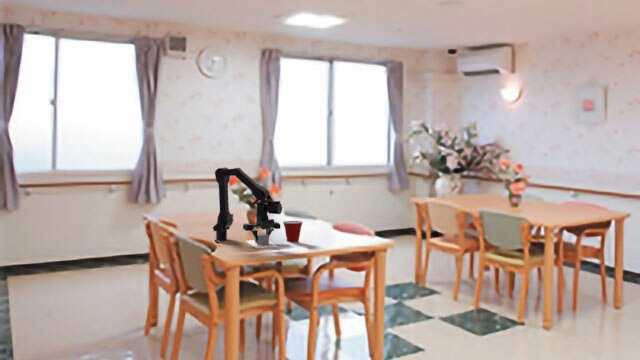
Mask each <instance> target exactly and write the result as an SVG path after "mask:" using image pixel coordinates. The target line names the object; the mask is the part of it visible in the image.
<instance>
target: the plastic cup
mask: <svg viewBox="0 0 640 360" xmlns="http://www.w3.org/2000/svg"><path fill="white" fill-rule="evenodd" d="M282 223H283V226H284V231H285V237H286V242H289V243H298V242H299V240H300V236H301V230H302V224H303V223H304V222H303V221H302V220H286V221H282Z"/></svg>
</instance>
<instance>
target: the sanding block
mask: <svg viewBox="0 0 640 360" xmlns="http://www.w3.org/2000/svg"><path fill="white" fill-rule="evenodd" d="M257 238H258V242H257V244H259V245H264V244H269V241H270V236H269V235H267V234H266V232H259V233H258V232H257ZM255 242H256V241H255Z"/></svg>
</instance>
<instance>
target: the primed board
mask: <svg viewBox="0 0 640 360" xmlns="http://www.w3.org/2000/svg"><path fill="white" fill-rule="evenodd" d="M245 242H246V243H248V244H249V245H251V246H252V247H254V248H255V249H266V248H267V249H268V248H269V249H271V248H279V247H280V246H278V245H277V244H275V243H273V242H272V241H270V240H269V244H264V245H259V244H257V243H256V242H255V239H253V240H251V239H249V240H245Z"/></svg>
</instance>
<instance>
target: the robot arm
mask: <svg viewBox="0 0 640 360" xmlns="http://www.w3.org/2000/svg"><path fill="white" fill-rule="evenodd" d="M214 176H215V177H214V178H215V181H216V183H217V184H218V199H219V213H218V216H217V220H216V224H215V225H214V226H212V230H213V232H215V239H213V240H214V242H215V243H217V244H219V243H220V242H226V241H227V240H228V230H230V228H231V226H232V225H233V222H234V214H233V213H231V212H230V208H229V205H230V204H229V183H230V179H231V177H234V176H235V178H236V179H238V180H239V181H240V182H241V183H242V184H243V185H244V186H245V187H246V188H247V189H249V190H250V193H252V196H253V197H254V199H255V200H254V201H253V202H252V204H253V205H256V209H255V210H256V213H255V219H256V222H255V224H252V223H250V222H249V223H244V224H243V225H242V229H243V230H244V231H249V232H251V234H252V235H253V237H254V240H255V241H256V243H257V242H258V238H257V233H258V230H257V229H261V230H264V231H265V234H267V235H269V237H270V236H271V234H272V232H273V231H275V230H280V229H281V223H279V222H277V221H275V219H273V218H271V219H269V215H268V214H270V215H271V214H272V215H281V214H282V212H283V206H282V203H281V201H280V200H274V198H272V196H271V195H270V191H269V190H268V189H267V188H266V187H264V186H263V185H260V184H258V183H257V182H256V181H254V180H253V179H252V178H251V177H250V176H249V175H247V173H245V171H243V169H241V168H240V167H234V168H228V167H225V166H224V167H219V168H217V169H216V170H215V171H214ZM219 241H220V242H219Z"/></svg>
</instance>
